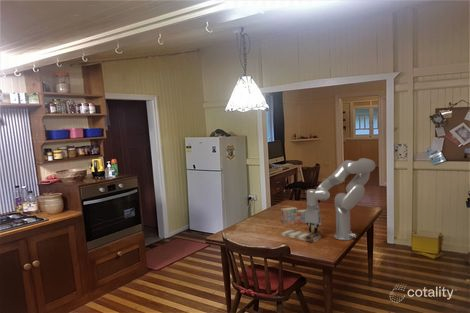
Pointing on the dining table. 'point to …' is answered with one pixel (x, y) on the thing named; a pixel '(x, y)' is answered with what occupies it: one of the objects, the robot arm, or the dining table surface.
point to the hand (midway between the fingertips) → (313, 232)
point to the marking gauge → (312, 234)
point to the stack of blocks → (292, 215)
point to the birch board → (299, 235)
